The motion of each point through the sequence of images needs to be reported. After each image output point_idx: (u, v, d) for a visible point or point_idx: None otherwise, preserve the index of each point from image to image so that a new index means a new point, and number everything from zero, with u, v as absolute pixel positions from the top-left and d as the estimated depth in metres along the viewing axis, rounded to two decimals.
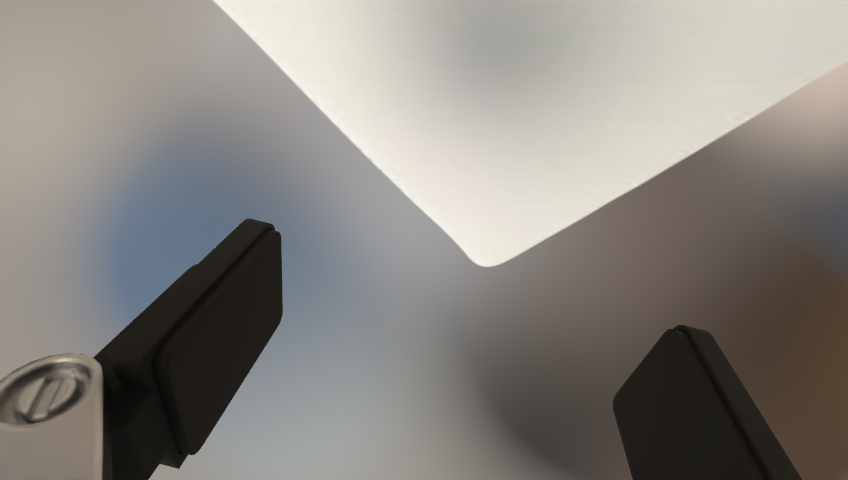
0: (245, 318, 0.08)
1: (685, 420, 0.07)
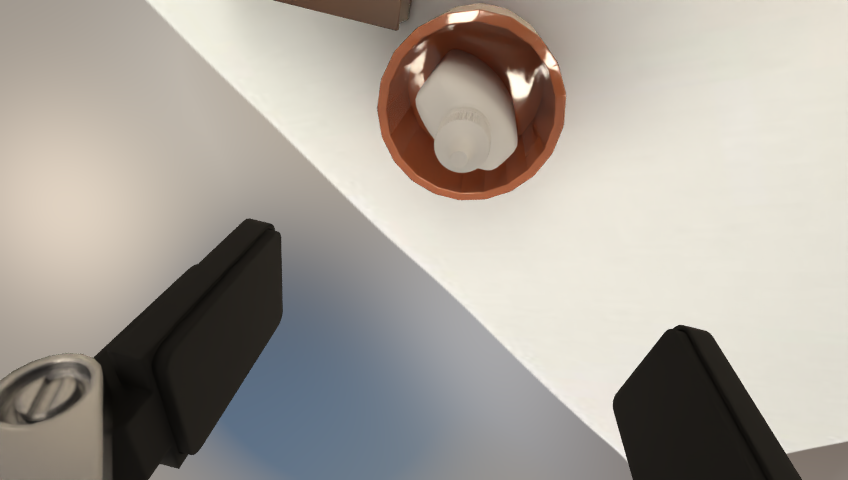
0: (245, 318, 0.08)
1: (685, 420, 0.07)
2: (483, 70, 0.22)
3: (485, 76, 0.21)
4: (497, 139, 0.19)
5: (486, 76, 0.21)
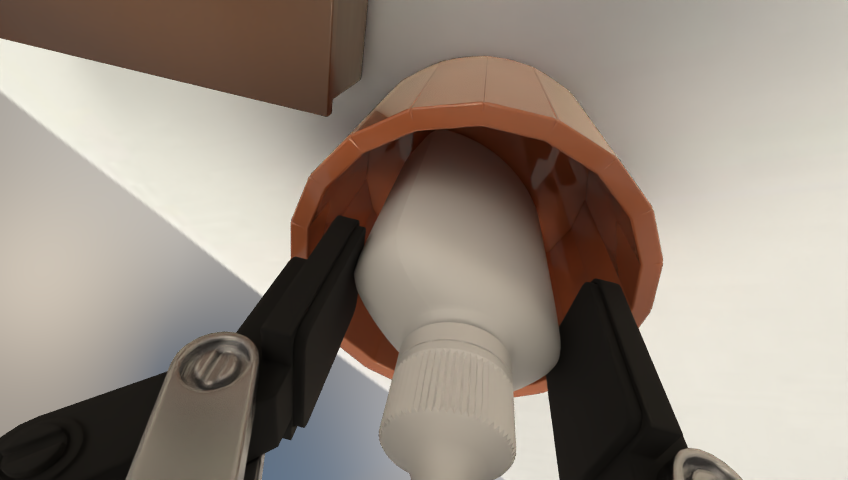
0: (341, 305, 0.09)
1: (588, 358, 0.08)
2: (489, 179, 0.12)
3: (494, 199, 0.11)
4: (523, 364, 0.09)
5: (495, 197, 0.11)
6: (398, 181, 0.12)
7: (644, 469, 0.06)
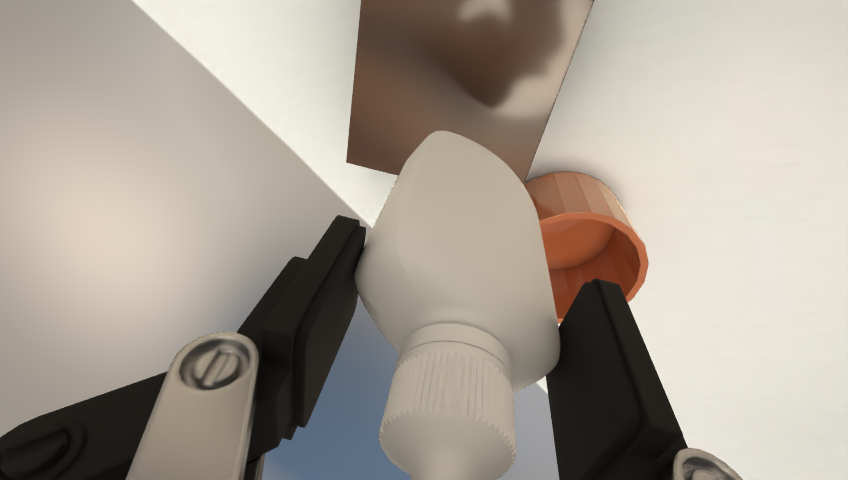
0: (341, 305, 0.09)
1: (587, 358, 0.08)
2: (489, 180, 0.12)
3: (494, 200, 0.11)
4: (523, 365, 0.09)
5: (495, 198, 0.11)
6: (398, 182, 0.12)
7: (644, 469, 0.06)
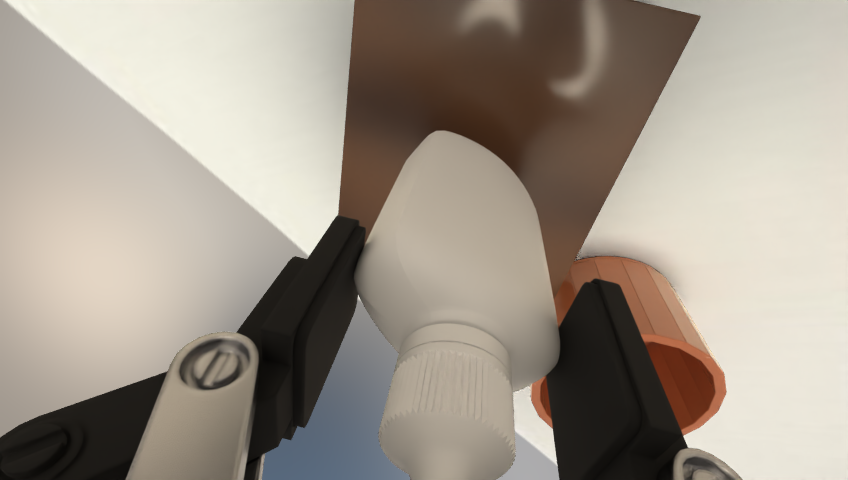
0: (341, 305, 0.09)
1: (588, 358, 0.08)
2: (489, 180, 0.12)
3: (494, 200, 0.11)
4: (523, 365, 0.09)
5: (495, 198, 0.11)
6: (398, 182, 0.12)
7: (645, 469, 0.06)
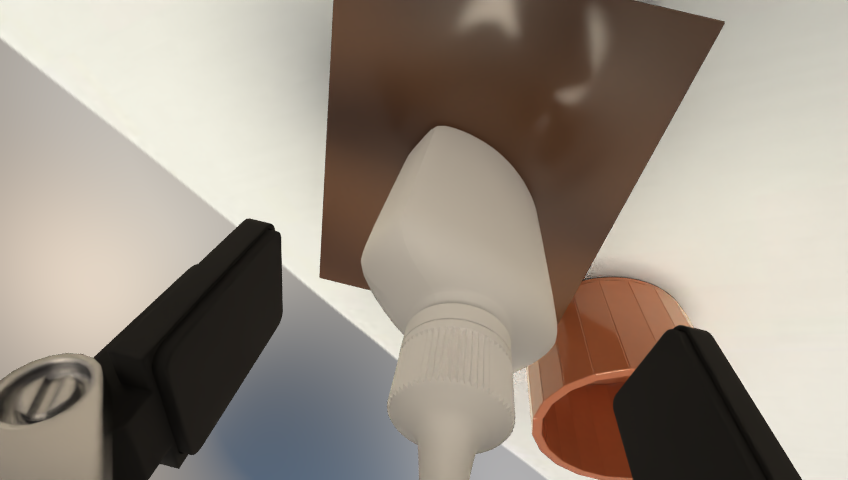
0: (245, 318, 0.08)
1: (685, 420, 0.07)
2: (489, 173, 0.13)
3: (493, 191, 0.12)
4: (522, 345, 0.09)
5: (495, 189, 0.12)
6: (401, 174, 0.13)
7: None
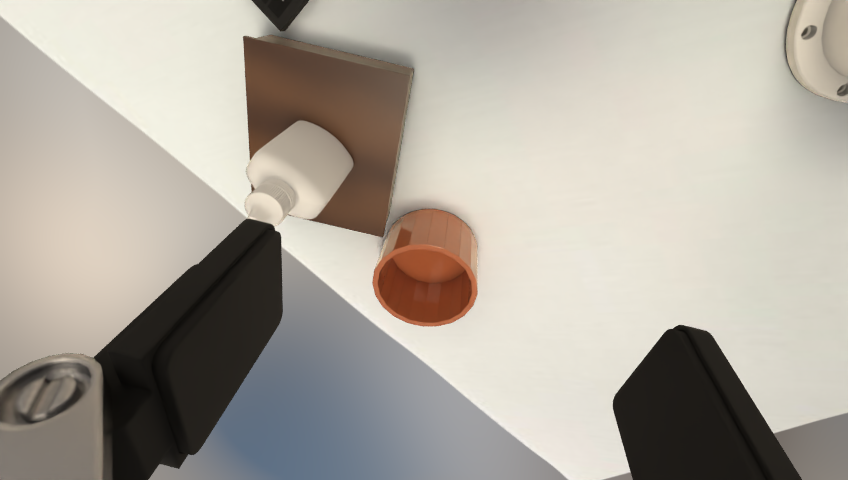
0: (245, 318, 0.08)
1: (685, 420, 0.07)
2: (313, 140, 0.29)
3: (309, 147, 0.28)
4: (304, 199, 0.25)
5: (311, 147, 0.28)
6: None
7: None
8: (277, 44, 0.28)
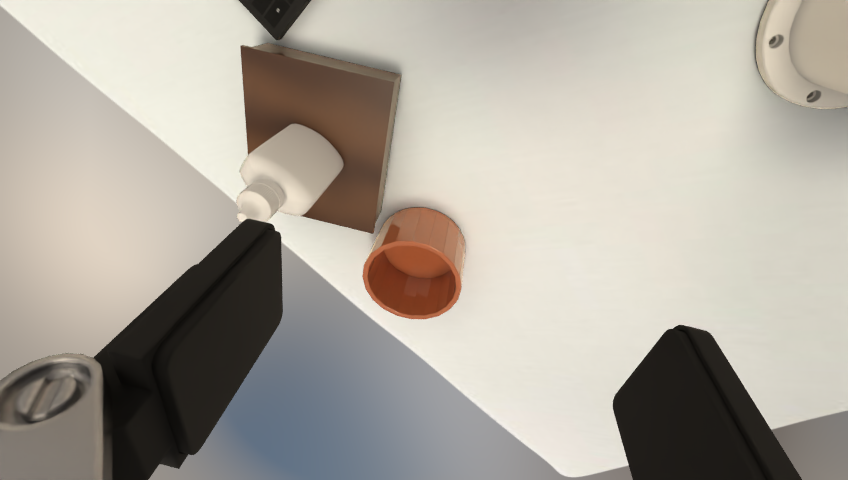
0: (245, 318, 0.08)
1: (685, 420, 0.07)
2: (304, 143, 0.31)
3: (300, 149, 0.30)
4: (292, 197, 0.28)
5: (302, 148, 0.30)
6: None
7: None
8: (271, 53, 0.31)
